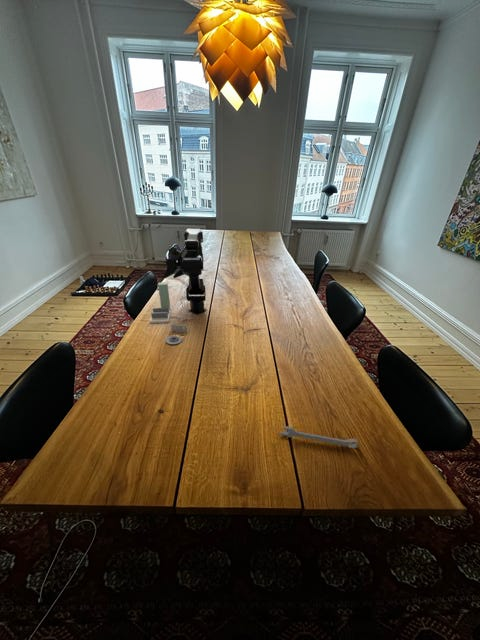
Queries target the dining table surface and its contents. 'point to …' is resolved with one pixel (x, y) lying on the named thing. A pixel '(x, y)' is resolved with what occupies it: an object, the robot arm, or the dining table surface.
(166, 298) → the cabinet door
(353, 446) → the combination wrench
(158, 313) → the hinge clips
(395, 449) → the dining table surface
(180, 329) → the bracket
